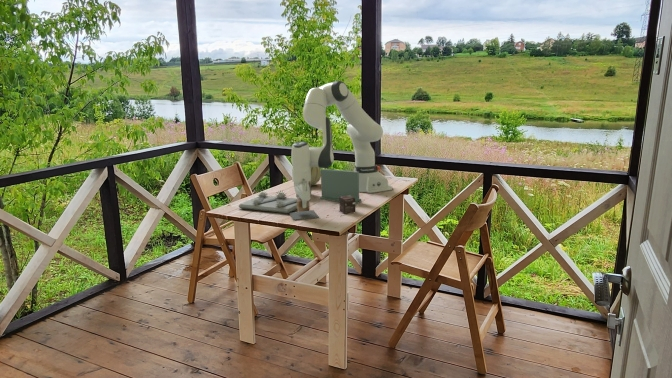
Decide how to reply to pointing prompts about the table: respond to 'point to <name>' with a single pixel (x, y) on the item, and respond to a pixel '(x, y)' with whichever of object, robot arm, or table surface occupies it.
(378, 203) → the table surface
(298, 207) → the letter cube
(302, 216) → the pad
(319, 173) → the cantaloupe
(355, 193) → the screen
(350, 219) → the table surface
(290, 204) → the grey spiky constellation board
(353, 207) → the box
